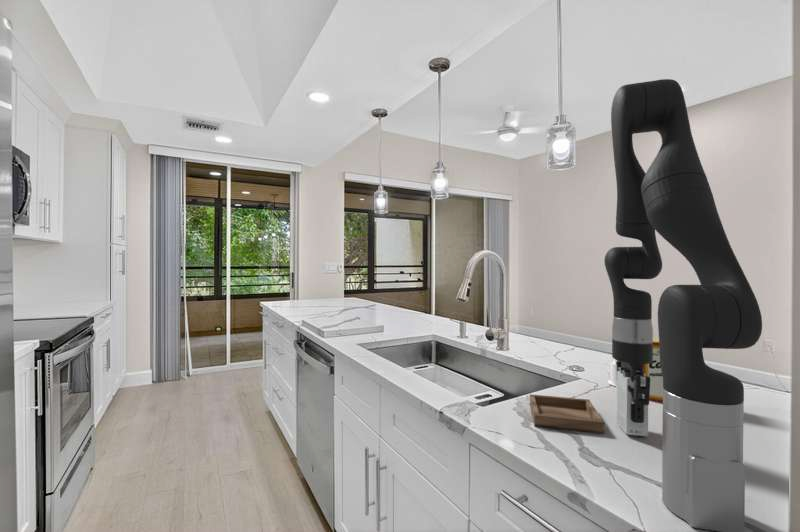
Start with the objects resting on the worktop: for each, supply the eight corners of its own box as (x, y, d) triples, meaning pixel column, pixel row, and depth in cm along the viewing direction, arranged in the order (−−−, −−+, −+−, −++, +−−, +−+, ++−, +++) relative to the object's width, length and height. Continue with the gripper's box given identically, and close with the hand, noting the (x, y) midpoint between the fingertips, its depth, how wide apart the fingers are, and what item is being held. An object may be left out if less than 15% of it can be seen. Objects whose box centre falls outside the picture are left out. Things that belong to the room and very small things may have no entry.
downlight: (601, 383, 114) (603, 351, 114) (612, 379, 118) (614, 348, 118) (630, 391, 108) (632, 357, 107) (640, 387, 112) (642, 354, 112)
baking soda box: (682, 398, 102) (682, 339, 102) (685, 406, 96) (685, 344, 96) (641, 392, 107) (641, 336, 107) (641, 398, 101) (641, 339, 101)
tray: (603, 434, 80) (604, 422, 80) (534, 426, 84) (534, 415, 84) (588, 409, 94) (589, 399, 93) (529, 403, 97) (529, 394, 97)
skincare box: (649, 437, 78) (649, 379, 78) (626, 435, 79) (626, 378, 79) (636, 425, 84) (637, 371, 84) (615, 423, 85) (616, 370, 85)
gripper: (666, 346, 73) (665, 432, 73) (639, 333, 87) (639, 406, 87) (623, 344, 75) (622, 427, 75) (604, 332, 89) (603, 402, 89)
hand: (631, 415), depth 81 cm, fingers closed on skincare box, 6 cm apart
